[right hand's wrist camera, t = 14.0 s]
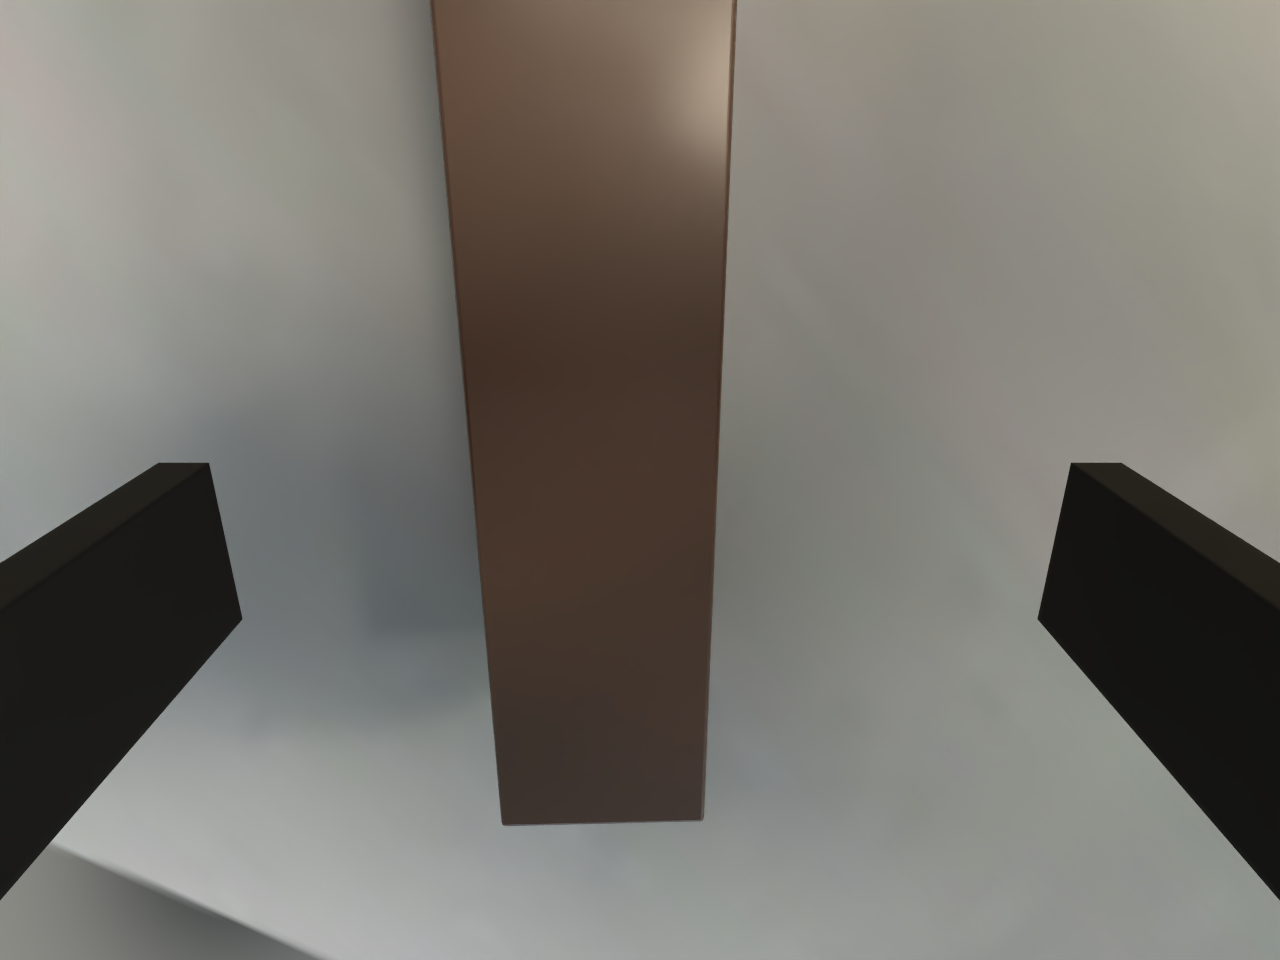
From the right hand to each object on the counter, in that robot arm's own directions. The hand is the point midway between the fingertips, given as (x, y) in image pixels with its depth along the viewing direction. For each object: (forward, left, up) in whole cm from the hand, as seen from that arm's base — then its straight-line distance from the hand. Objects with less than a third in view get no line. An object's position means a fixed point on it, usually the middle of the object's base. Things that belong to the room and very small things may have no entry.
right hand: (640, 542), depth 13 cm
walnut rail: (+1, -11, -8) cm, 14 cm away
